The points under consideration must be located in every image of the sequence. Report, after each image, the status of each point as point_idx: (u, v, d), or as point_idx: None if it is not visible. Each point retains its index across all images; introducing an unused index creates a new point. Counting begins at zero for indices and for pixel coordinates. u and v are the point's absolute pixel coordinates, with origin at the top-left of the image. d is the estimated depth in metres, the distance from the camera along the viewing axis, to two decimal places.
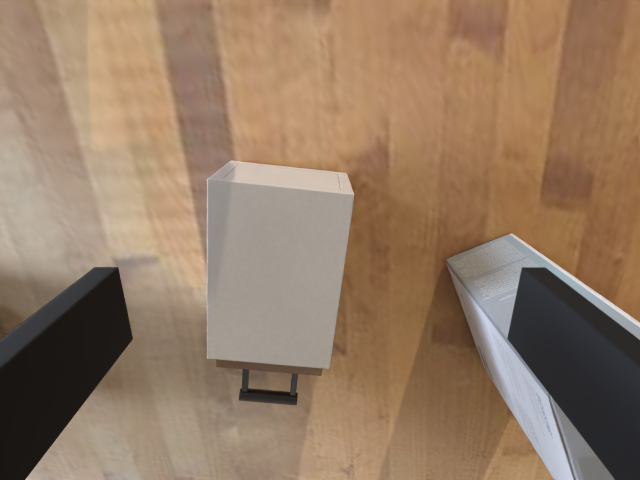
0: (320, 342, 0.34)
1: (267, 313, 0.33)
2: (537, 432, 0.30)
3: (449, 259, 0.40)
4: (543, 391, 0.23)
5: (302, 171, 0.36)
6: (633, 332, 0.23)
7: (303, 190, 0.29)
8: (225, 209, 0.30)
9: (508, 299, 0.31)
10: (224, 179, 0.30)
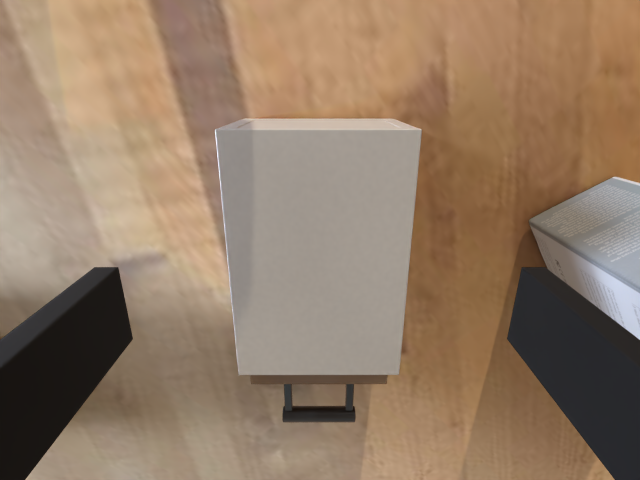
0: (385, 341, 0.26)
1: (312, 308, 0.25)
2: None
3: (534, 219, 0.31)
4: None
5: (337, 120, 0.27)
6: None
7: (349, 131, 0.21)
8: (244, 170, 0.22)
9: None
10: (238, 128, 0.21)
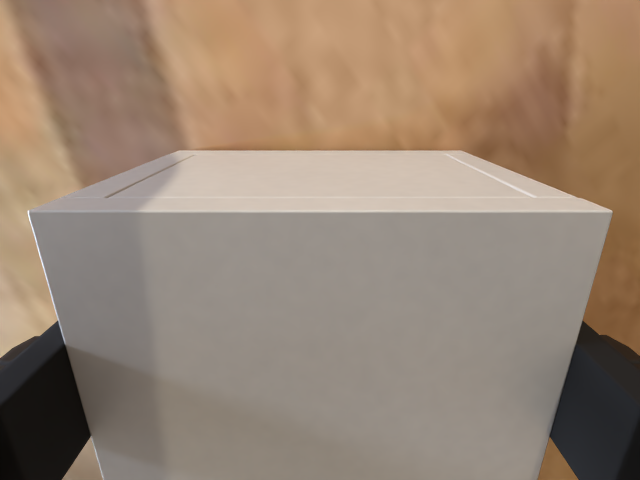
0: None
1: None
2: None
3: None
4: None
5: (357, 156, 0.14)
6: None
7: (408, 215, 0.07)
8: (122, 312, 0.08)
9: None
10: (102, 204, 0.08)
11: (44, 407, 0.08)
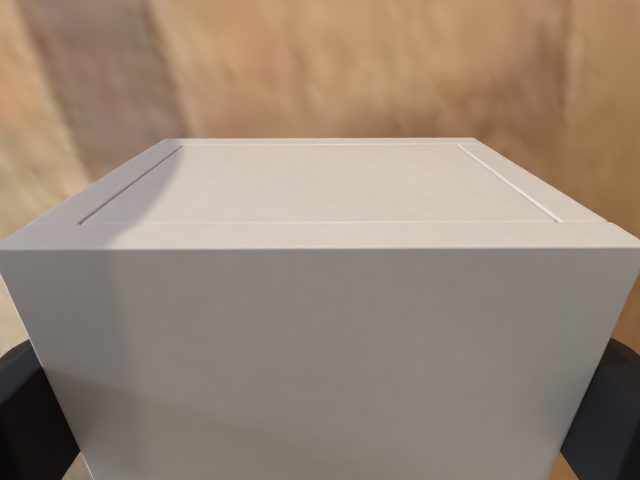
0: None
1: None
2: None
3: None
4: None
5: (360, 148, 0.13)
6: None
7: (419, 252, 0.07)
8: (105, 349, 0.08)
9: None
10: (74, 235, 0.07)
11: (44, 407, 0.08)
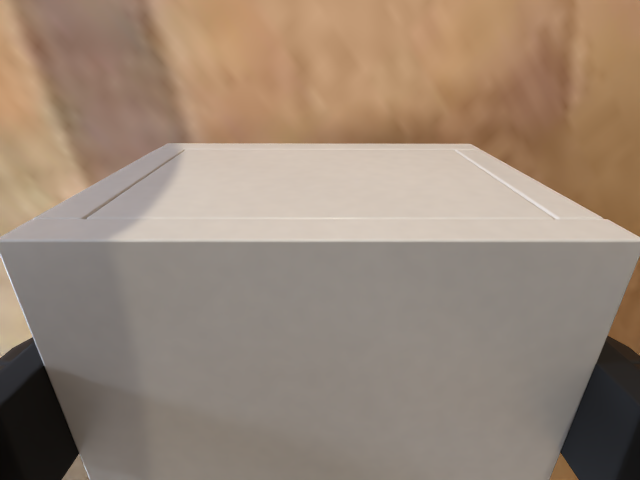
0: None
1: None
2: None
3: None
4: None
5: (360, 153, 0.13)
6: None
7: (419, 245, 0.07)
8: (106, 344, 0.08)
9: None
10: (79, 229, 0.07)
11: (44, 407, 0.08)
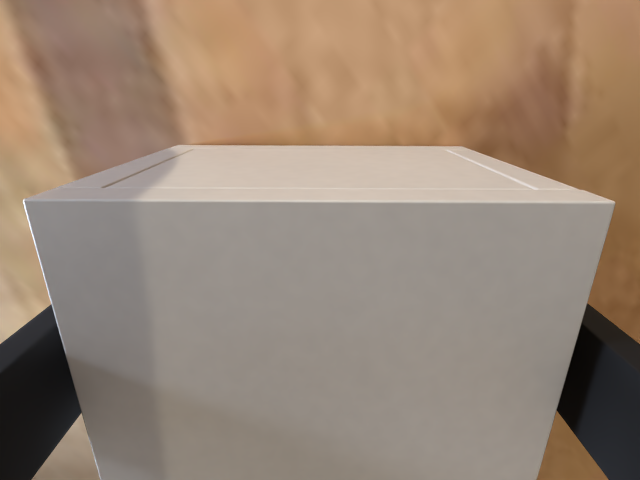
0: None
1: None
2: None
3: None
4: None
5: (357, 151, 0.14)
6: None
7: (409, 206, 0.07)
8: (118, 304, 0.08)
9: None
10: (98, 193, 0.08)
11: None
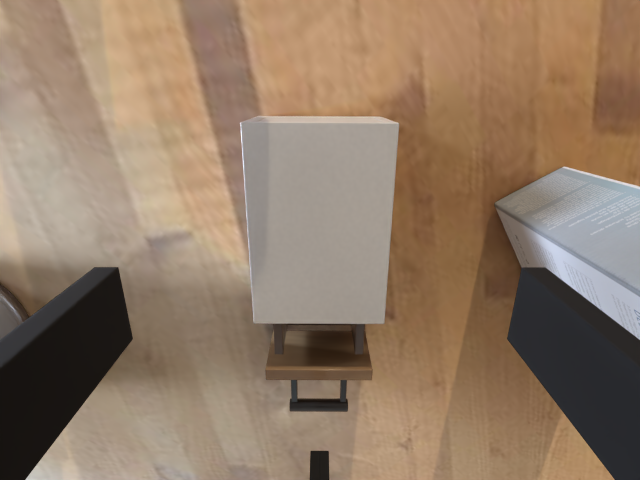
0: (372, 294, 0.32)
1: (314, 267, 0.31)
2: None
3: (498, 202, 0.37)
4: None
5: (335, 117, 0.34)
6: None
7: (343, 124, 0.27)
8: (262, 154, 0.28)
9: (578, 224, 0.28)
10: (258, 122, 0.28)
11: None
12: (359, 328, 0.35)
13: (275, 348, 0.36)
